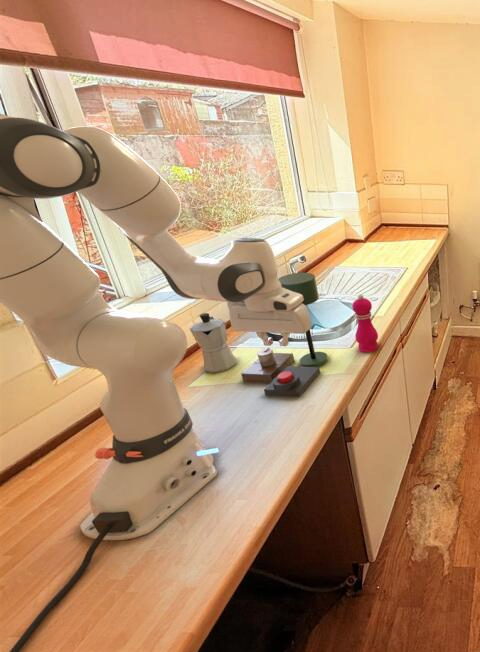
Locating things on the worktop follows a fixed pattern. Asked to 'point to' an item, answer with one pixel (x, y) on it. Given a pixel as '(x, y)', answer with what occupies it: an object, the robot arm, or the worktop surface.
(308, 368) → the switch block
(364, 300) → the pepper mill
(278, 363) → the dimmer panel
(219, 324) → the coffee maker
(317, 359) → the desk lamp
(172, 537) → the worktop surface
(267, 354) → the dimmer knob
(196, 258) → the robot arm
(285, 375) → the lamp button
